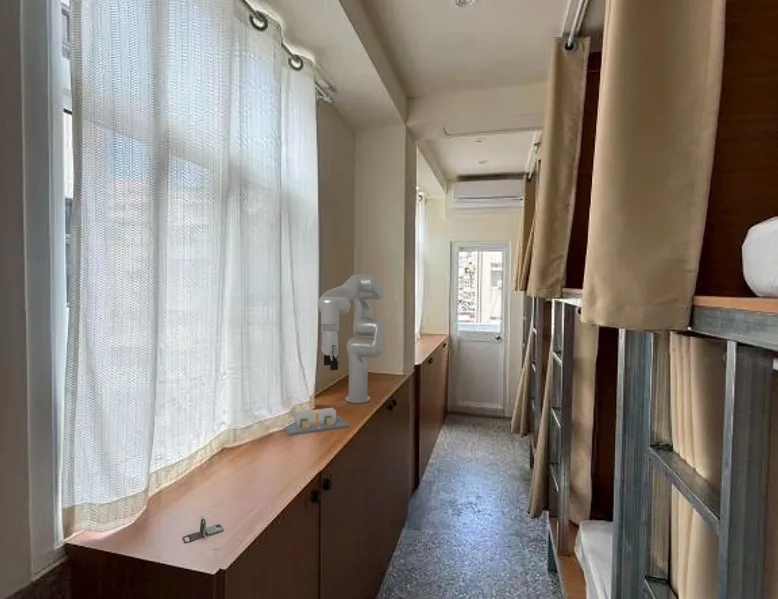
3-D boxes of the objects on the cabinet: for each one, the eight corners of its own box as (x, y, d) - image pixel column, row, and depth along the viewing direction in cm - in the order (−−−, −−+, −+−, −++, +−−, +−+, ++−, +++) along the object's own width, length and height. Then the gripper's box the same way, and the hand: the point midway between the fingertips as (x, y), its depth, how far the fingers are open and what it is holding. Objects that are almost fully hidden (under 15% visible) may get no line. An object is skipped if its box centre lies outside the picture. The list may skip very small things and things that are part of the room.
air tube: (294, 424, 169) (294, 412, 169) (332, 419, 176) (332, 407, 176) (297, 428, 165) (297, 415, 164) (336, 423, 171) (336, 410, 171)
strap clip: (221, 526, 100) (220, 508, 100) (224, 532, 97) (224, 514, 97) (181, 539, 95) (181, 520, 94) (184, 545, 92) (184, 526, 92)
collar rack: (282, 425, 171) (282, 415, 171) (338, 417, 181) (338, 408, 181) (289, 435, 159) (289, 425, 159) (348, 427, 169) (348, 417, 169)
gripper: (316, 325, 182) (317, 364, 183) (327, 330, 166) (327, 373, 168) (332, 324, 185) (333, 362, 186) (345, 329, 169) (345, 371, 171)
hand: (330, 367), depth 177 cm, fingers open, 9 cm apart
